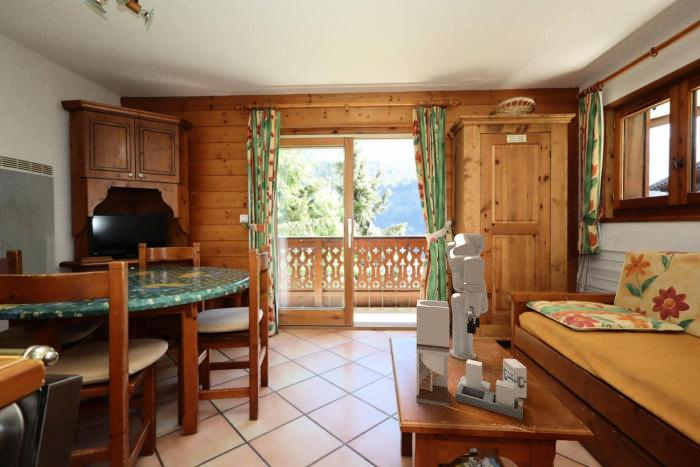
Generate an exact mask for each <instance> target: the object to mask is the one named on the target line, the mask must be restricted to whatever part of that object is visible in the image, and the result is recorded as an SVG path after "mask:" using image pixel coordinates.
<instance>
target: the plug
mask: <svg viewBox="0 0 700 467" xmlns="http://www.w3.org/2000/svg"><path fill="white" fill-rule="evenodd" d="M465 377H466V385H468V386H472V387H476V388H479V389H481V387H482V381H483V362H482V361H477V360H474V359H473V360H469V359H468V360H466V362H465Z"/></svg>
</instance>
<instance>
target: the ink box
mask: <svg viewBox="0 0 700 467" xmlns="http://www.w3.org/2000/svg"><path fill="white" fill-rule="evenodd" d="M502 360H503V361H502V381H505V382H509V383H514V384H515V398H518V399H527V393H528V392H527V391H528V390H527V388H528V386H527V374H528V373H527V370H528V369H527V367H526V366H525V365H524V364H523V363H521V362H520V361H518V360H517V359H516V358H503V359H502Z"/></svg>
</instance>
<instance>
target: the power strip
mask: <svg viewBox="0 0 700 467" xmlns="http://www.w3.org/2000/svg"><path fill="white" fill-rule="evenodd" d="M464 393H465V394H464ZM472 395H473V396H472ZM481 398H482V399H481ZM455 401H457V402H460V403H464V404H467V405H470V406H475V407H477V408H481V409H484V410H487V411H491V412H495V413H497V414H501V415H504V416H508V417H511V418H515V419H517V420H518V419H519V420H520V421H521V420H522V421H523V419H524V418H523V414H524V400H523V398H515V408H512V407H509V406H505V405H501V404H498V403H496V391H490V390H489V391H487V390H483V389H479V388H476V387H472V386H468V385H464V384H460V385H459V387H457V390H456V391H455Z"/></svg>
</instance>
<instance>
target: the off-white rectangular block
mask: <svg viewBox="0 0 700 467" xmlns="http://www.w3.org/2000/svg"><path fill="white" fill-rule="evenodd" d="M495 393H496V401H495V403H498V404H501V405H505V406H509V407H512V408H516V407H515V384H514V383H509V382H505V381H503V380H502V379H501V380H499V379H497V380H496V383H495Z"/></svg>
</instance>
